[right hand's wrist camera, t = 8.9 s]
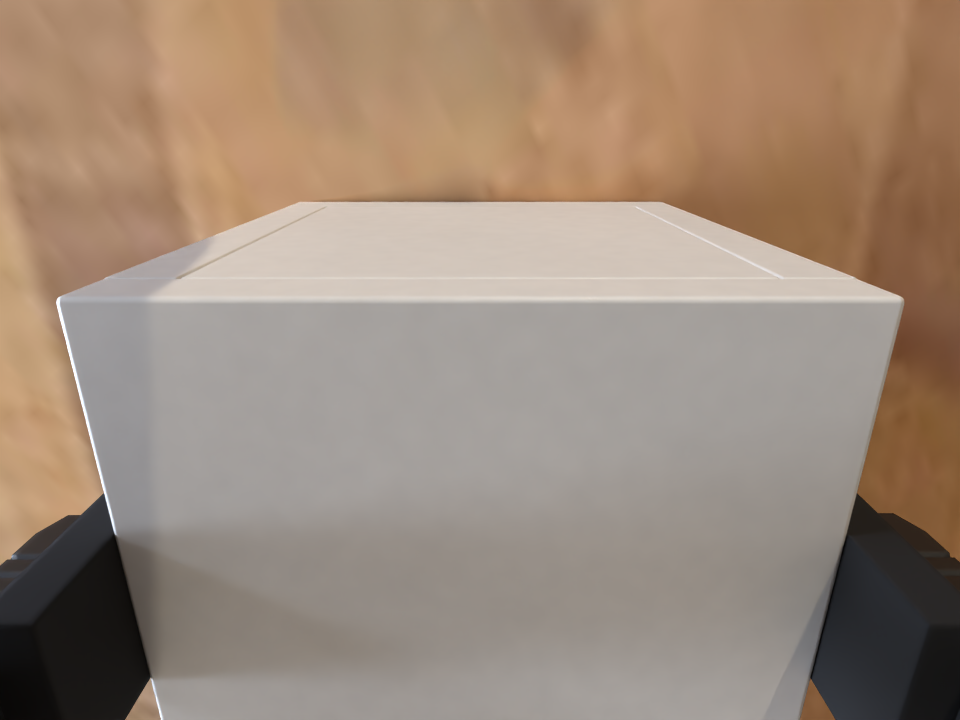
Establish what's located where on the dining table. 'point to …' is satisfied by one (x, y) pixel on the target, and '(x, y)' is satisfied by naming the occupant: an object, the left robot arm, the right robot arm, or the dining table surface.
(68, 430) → the dining table surface
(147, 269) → the cabinet
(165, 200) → the dining table surface
